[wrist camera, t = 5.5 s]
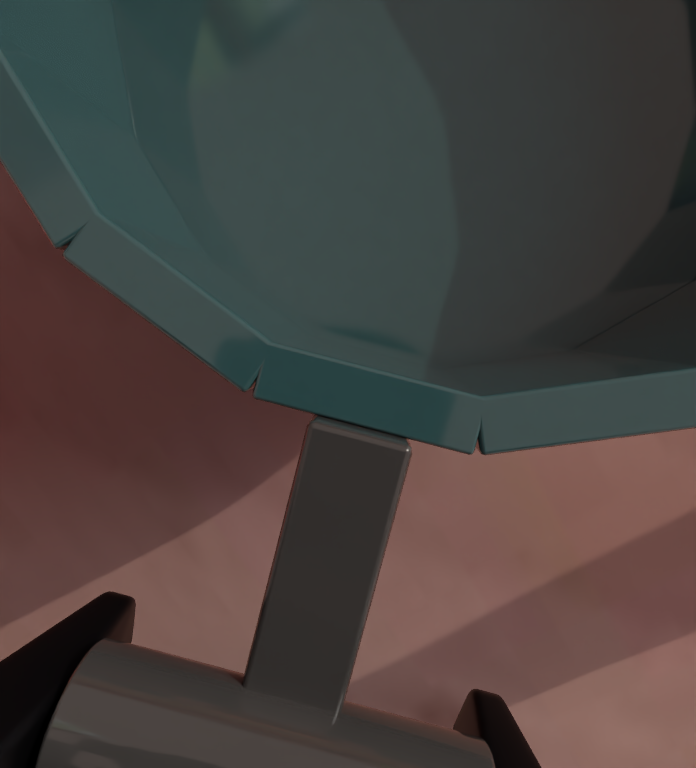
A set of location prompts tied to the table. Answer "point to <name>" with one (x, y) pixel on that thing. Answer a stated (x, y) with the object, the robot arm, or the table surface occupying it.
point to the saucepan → (360, 288)
